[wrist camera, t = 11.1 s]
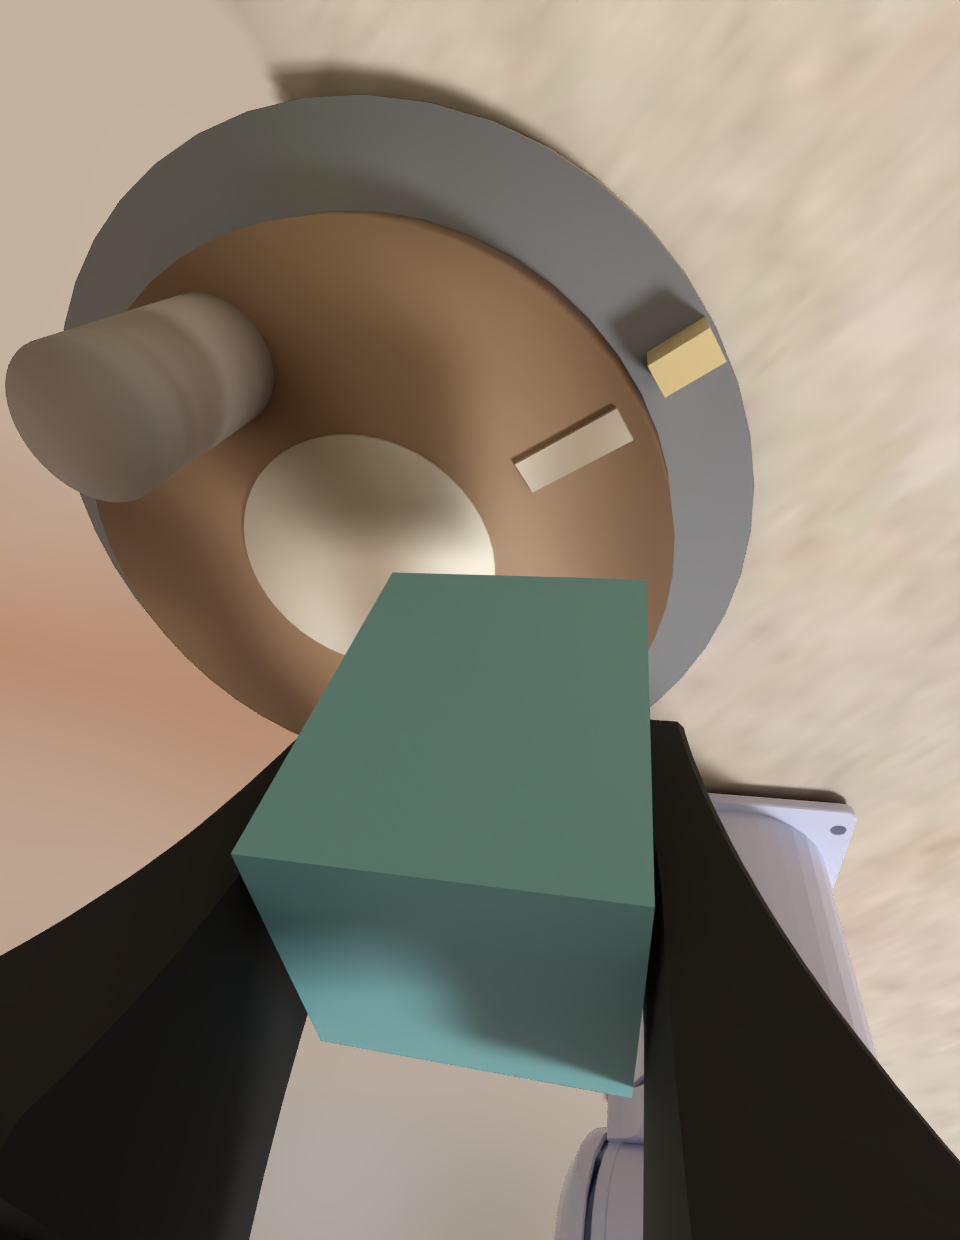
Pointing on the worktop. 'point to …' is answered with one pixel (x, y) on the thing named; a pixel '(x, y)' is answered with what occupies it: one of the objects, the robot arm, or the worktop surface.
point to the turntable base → (506, 219)
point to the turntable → (343, 439)
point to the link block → (473, 831)
